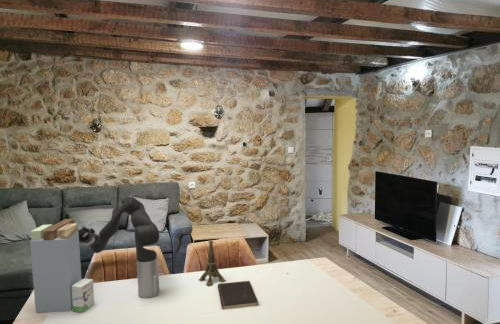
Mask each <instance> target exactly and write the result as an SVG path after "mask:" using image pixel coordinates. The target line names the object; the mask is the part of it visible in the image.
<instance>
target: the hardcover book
mask: <svg viewBox="0 0 500 324" xmlns="http://www.w3.org/2000/svg"><path fill="white" fill-rule="evenodd" d="M217 289H218V295H219V300H220V304H221V305H220V306H221V310H226V309H235V308H245V307H253V306H255V307H256V306H258V303H259V300H258V298H257V296H256V294H255V291H254V288H253V286H252V284H251V281H250V280H243V281H234V282H233V281H232V282H220V283H218V284H217Z"/></svg>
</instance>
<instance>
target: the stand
mask: <svg viewBox="0 0 500 324" xmlns="http://www.w3.org/2000/svg"><path fill="white" fill-rule="evenodd" d="M29 243H30V256H31V258H30V259H31V267H32V269H31V270H32V282H33V294H34V296H33V297H34V306H35V313H36V314H41V313H42V314H43V313H61V312H62V313H63V312H73V299H72V286H73V285H74V284H76V283H77V282H79V281H80V280H82V279H83V278H82V267H81V252H80V242H79V233H78V231H77V233H75V234H74V235H72V236H71V237H69V238H68V239H58V237H57V238H56V239H54V240H44V241H43V239H42V240H31V239H30V241H29Z"/></svg>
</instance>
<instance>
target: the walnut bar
mask: <svg viewBox="0 0 500 324" xmlns="http://www.w3.org/2000/svg"><path fill="white" fill-rule="evenodd" d="M67 224H75V220H74V218H65V219H63V220H61V221H59V222H58V223H55V224H52V227H50V228H48V229H46V230H44V231H43V241H44V240H54V239H56V238H57V237H58V235H57V230H58V229H60V228H62V227H63V226H65V225H67Z"/></svg>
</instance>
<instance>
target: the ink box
mask: <svg viewBox="0 0 500 324" xmlns="http://www.w3.org/2000/svg"><path fill="white" fill-rule="evenodd" d="M94 291H95V290H94V279H91V278H82V280H80V281H79V282H77V283H76V284H74V285H73V286H72V299H73V310H72V312H74V313H84V312H85V311H87V310H88V309H89V308H91V306H94V304H95V292H94Z"/></svg>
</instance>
